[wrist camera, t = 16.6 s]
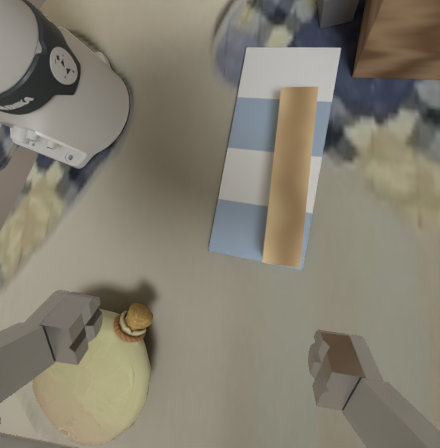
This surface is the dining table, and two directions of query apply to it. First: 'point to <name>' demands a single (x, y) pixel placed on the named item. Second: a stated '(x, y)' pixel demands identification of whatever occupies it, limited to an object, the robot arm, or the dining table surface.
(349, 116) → the dining table surface
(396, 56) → the walnut stand
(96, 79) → the robot arm
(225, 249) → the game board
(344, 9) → the die
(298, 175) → the light wooden block
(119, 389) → the flask
